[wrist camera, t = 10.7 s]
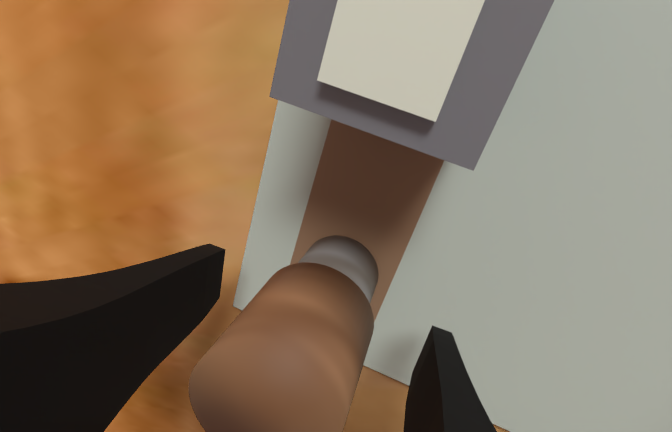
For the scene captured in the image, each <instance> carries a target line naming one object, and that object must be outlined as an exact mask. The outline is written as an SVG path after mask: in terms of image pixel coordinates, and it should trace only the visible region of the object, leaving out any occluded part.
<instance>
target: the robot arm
mask: <svg viewBox="0 0 672 432" xmlns="http://www.w3.org/2000/svg"><path fill="white" fill-rule="evenodd" d="M224 256H225V249H222V248H220V247H217V246H214V245H212V244H206V245H202V246H199V247H195V248H192V249H188V250H185V251H182V252H179V253H175V254H172V255H169V256H165V257H162V258H159V259H155V260H152V261H148V262H144V263H141V264H137V265H133V266H129V267H125V268H121V269H117V270H113V271H108V272H103V273H97V274H92V275H86V276H80V277H73V278H64V279H56V280H48V281H38V282H25V283H7V284H0V432H104V431H105V429H106V428H107V427H108V425H109V424H110V423H111V421H112V420H113V419H114V418H115V416H116V415H117V414H118V412H119V411H120V410H121V409H122V407H123V406H124V405H125V403H126V402H127V401H128V400H129V399H130V397H131V396H132V395H133V394H134V392H135V391H136V390H137V389H138V387H139V386H140V385H141V384H142V383H143V381H144V380H145V379H146V378H147V377H148V376H149V375H150V373H151V372H152V371H153V370H154V369H155V368H156V367H157V366H158V365H159V364H160V363H161V362H162V361H163V360H164V359H165V358H166V357H167V356H168V355H169V354H170V353H171V352H172V351H173V350H174V349H175V348H176V347H177V346H178V345H179V344H180V343H181V342H182V341H183V340H184V339H185V338H186V337H187V336H188V335H189V334H190V333H191V332H192V331H193V330H194V329H195V328H196V327H197V326H198V325H199V323H200V322H201V321H202V320H203V319H204V318H205V316H206V315H207V314H208V313H209V311H210V310H211V309H212V307H213V306H214V304H215V303H216V302H217V300H218V299H219V297H220V289H221V281H222V272H223V264H224ZM404 432H497V431H496V429H495V428H494V426H493V424H492V422H491V421H490V419H489V417H488V415H487V413H486V411H485V409H484V407H483V405H482V403H481V401H480V399H479V397H478V395H477V393H476V391H475V388H474V386H473V384H472V382H471V379H470V377H469V375H468V373H467V370H466V368H465V365H464V363H463V360H462V358H461V355H460V352H459V350H458V347H457V344H456V342H455V339H454V336H453V334H452V332H449V331H446V330H444V329H441V328H438V327H435V326H433V325H432V327H431V329H430V332H429V334H428V337H427V339H426V341H425V344H424V346H423V348H422V351H421V353H420V355H419V358H418V360H417V362H416V365H415V367H414V370H413V372H412V376H411V381H410V385H409V390H408V396H407V401H406V409H405V422H404Z"/></svg>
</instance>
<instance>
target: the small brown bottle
mask: <svg viewBox="0 0 672 432" xmlns="http://www.w3.org/2000/svg"><path fill="white" fill-rule="evenodd" d="M378 275H379V273H378V267H377V263H376V261H375V259H374V257H373V255H372V254H371V253H370V251H369V250H368V249H367V248H366V247H365V246H364V245H362V244H361V243H359V242H358V241H356V240H354V239H352V238H349V237H345V236H339V235H333V236H327V237H324V238H321V239H319V240H318V241H316V242H315V243H314V244H313V245H312V246H311V247H310V248H309V249H308V251H307V252H306V253H305V255H304V256H303V257H302V258H301V260H300V261H299V262H298V263H295V264H291V265H288V266H286V267H283V268H282V269H280V270H278V271H277V272H276V273H275V274H274V275H272V277H271V278H270V279H269V280H268V281H267V282H266V284H265V285H264V286H263V287H262V288H261V289H260V291H259V292H258V293H257V294H256V295H255V296H254V298H253V299H252V300H251V301H250V302H249V303H248V305H247V306H246V307H245V308H244V309H243V310H242V312H241V313H240V314H239V315H238V316H237V317H236V319H235V320H234V321H233V322H232V323H231V324H230V326H229V327H228V328H227V329H226V330H225V331H224V332H223V334H222V335H221V336H220V337H219V338H218V339H217V341H216V342H215V343H214V344H213V345H212V346H211V348H210V349H209V350H208V351H207V352H206V353H205V355H204V356H203V357H202V358H201V359H200V360H199V362H198V363H197V364H196V365H195V367H194V369H193V371H192V373H191V376H190V379H189V397H190V402H191V405H192V408H193V411H194V413H195V415H196V417H197V419H198V421H199V422H200V424H201V425H202V427H203V428H204V430H205V431H206V432H343V429H344V426H345V422H346V419H347V416H348V413H349V409H350V406H351V403H352V400H353V396H354V393H355V390H356V387H357V383H358V380H359V377H360V374H361V370H362V367H363V364H364V361H365V357H366V354H367V351H368V348H369V344H370V341H371V338H372V335H373V330H374V317H373V312H372V308H371V306H370V302H371V299H372V297H373V294H374V291H375V288H376V285H377V282H378Z"/></svg>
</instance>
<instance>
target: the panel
mask: <svg viewBox="0 0 672 432" xmlns="http://www.w3.org/2000/svg"><path fill="white" fill-rule="evenodd" d="M333 235H339V236H345V237H349V238H352V239H354V240H356V241H358V242H359V243H361V244H362V245H364V246H365V247H366V248H367V249H368V250H369V251H370V253H371V254H372V255H373V257H374V259H375V261H376V263H377V267H378V273H379V275H378V282H377V285H376V288H375V291H374V294H373V297H372V299H371V302H370V306H371V308H372V312H373V317H374V330H373V335H372V338H371V341H370V344H369V348H368V351H367V354H366V357H365V361H364V364H363V365H364V366H366V367H369V368H371V369H373V370H375V371H377V372H380V373H382V374H384V375H386V376H388V377H391V378H393V379H395V380H397V381H400V382H402V383H404V384H406V385H408V386H409V385H410V381H411V376H412V372H413V370H414V367H415V365H416V362H417V360H418V358H419V355H420V353H421V351H422V348H423V346H424V344H425V341H426V339H427V337H428V334H429V332H430V329H431V327H432V325H433V326H435V327H438V328H441V329H444V330H446V331H449V332H452V334H453V336H454V339H455V342H456V344H457V347H458V350H459V352H460V355H461V358H462V360H463V363H464V365H465V368H466V370H467V373H468V375H469V377H470V379H471V382H472V384H473V386H474V388H475V391H476V393H477V395H478V397H479V399H480V401H481V403H482V405H483V407H484V409H485V411H486V413H487V415H488V417H489V419H490V421H491V422H492V424H495V425H497V426H499V427H501V428H504V429H506V430H508V431H510V432H672V0H554V2H553V4H552V6H551V9H550V11H549V13H548V15H547V17H546V19H545V21H544V23H543V25H542V28H541V30H540V32H539V34H538V36H537V38H536V40H535V42H534V44H533V47H532V49H531V51H530V53H529V55H528V57H527V59H526V61H525V63H524V66H523V68H522V70H521V72H520V74H519V76H518V78H517V80H516V82H515V85H514V87H513V89H512V91H511V93H510V95H509V97H508V99H507V101H506V103H505V106H504V108H503V110H502V112H501V114H500V116H499V118H498V120H497V122H496V125H495V127H494V129H493V131H492V133H491V135H490V137H489V139H488V141H487V144H486V146H485V148H484V150H483V152H482V154H481V156H480V158H479V160H478V163H477V165H476V167H475V169H474V171H472V170H469V169H467V168H464V167H461V166H458V165H456V164H453V163H450V162H447V161H445V160H442V159H439V158H436V157H434V156H431V155H428V154H425V153H423V152H420V151H417V150H414V149H412V148H409V147H406V146H404V145H401V144H398V143H395V142H393V141H390V140H387V139H384V138H382V137H379V136H376V135H373V134H371V133H368V132H365V131H362V130H360V129H357V128H354V127H351V126H349V125H346V124H343V123H340V122H338V121H335V120H332V119H329V118H327V117H324V116H321V115H318V114H316V113H313V112H310V111H307V110H305V109H302V108H299V107H296V106H294V105H291V104H288V103H285V102H283V101H280V100H278V104H277V108H276V113H275V117H274V122H273V126H272V131H271V135H270V140H269V144H268V149H267V154H266V158H265V163H264V167H263V172H262V176H261V181H260V185H259V190H258V194H257V199H256V203H255V208H254V212H253V217H252V221H251V226H250V230H249V235H248V239H247V244H246V249H245V253H244V258H243V262H242V267H241V271H240V276H239V280H238V285H237V289H236V294H235V298H234V303H233V306H234V307H236V308H238V309H240V310H243V309H244V308H245V307H246V306H247V305H248V303H249V302H250V301H251V300H252V299H253V298H254V296H255V295H256V294H257V293H258V292H259V291H260V289H261V288H262V287H263V286H264V285H265V284H266V282H267V281H268V280H269V279H270V278H271V277H272V275H274V274H275V273H276V272H277V271H278V270H280V269H282V268H283V267H286V266H288V265H291V264H295V263H298V262H299V261H300V260H301V258H302V257H303V256H304V255H305V253H306V252H307V251H308V249H309V248H310V247H311V246H312V245H313V244H314V243H315V242H316V241H318V240H319V239H321V238H324V237H327V236H333Z"/></svg>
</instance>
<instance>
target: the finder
mask: <svg viewBox="0 0 672 432" xmlns="http://www.w3.org/2000/svg"><path fill="white" fill-rule="evenodd" d="M553 2H554V0H290V1H289V6H288V11H287V16H286V20H285V25H284V30H283V35H282V39H281V44H280V49H279V54H278V58H277V63H276V68H275V73H274V77H273V82H272V87H271V92H270V96H269V97H272V98H274V99H277V100H280V101H283V102H285V103H288V104H291V105H294V106H296V107H299V108H302V109H305V110H307V111H310V112H313V113H316V114H318V115H321V116H324V117H327V118H329V119H332V120H335V121H338V122H340V123H343V124H346V125H349V126H351V127H354V128H357V129H360V130H362V131H365V132H368V133H371V134H373V135H376V136H379V137H382V138H384V139H387V140H390V141H393V142H395V143H398V144H401V145H404V146H406V147H409V148H412V149H414V150H417V151H420V152H423V153H425V154H428V155H431V156H434V157H436V158H439V159H442V160H445V161H447V162H450V163H453V164H456V165H458V166H461V167H464V168H467V169H469V170H472V171H474V169H475V167H476V165H477V163H478V160H479V158H480V156H481V154H482V152H483V150H484V148H485V146H486V144H487V141H488V139H489V137H490V135H491V133H492V131H493V129H494V127H495V125H496V122H497V120H498V118H499V116H500V114H501V112H502V110H503V108H504V106H505V103H506V101H507V99H508V97H509V95H510V93H511V91H512V89H513V87H514V85H515V82H516V80H517V78H518V76H519V74H520V72H521V70H522V68H523V66H524V63H525V61H526V59H527V57H528V55H529V53H530V51H531V49H532V47H533V44H534V42H535V40H536V38H537V36H538V34H539V32H540V30H541V28H542V25H543V23H544V21H545V19H546V17H547V15H548V13H549V11H550V9H551V6H552V4H553Z"/></svg>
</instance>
